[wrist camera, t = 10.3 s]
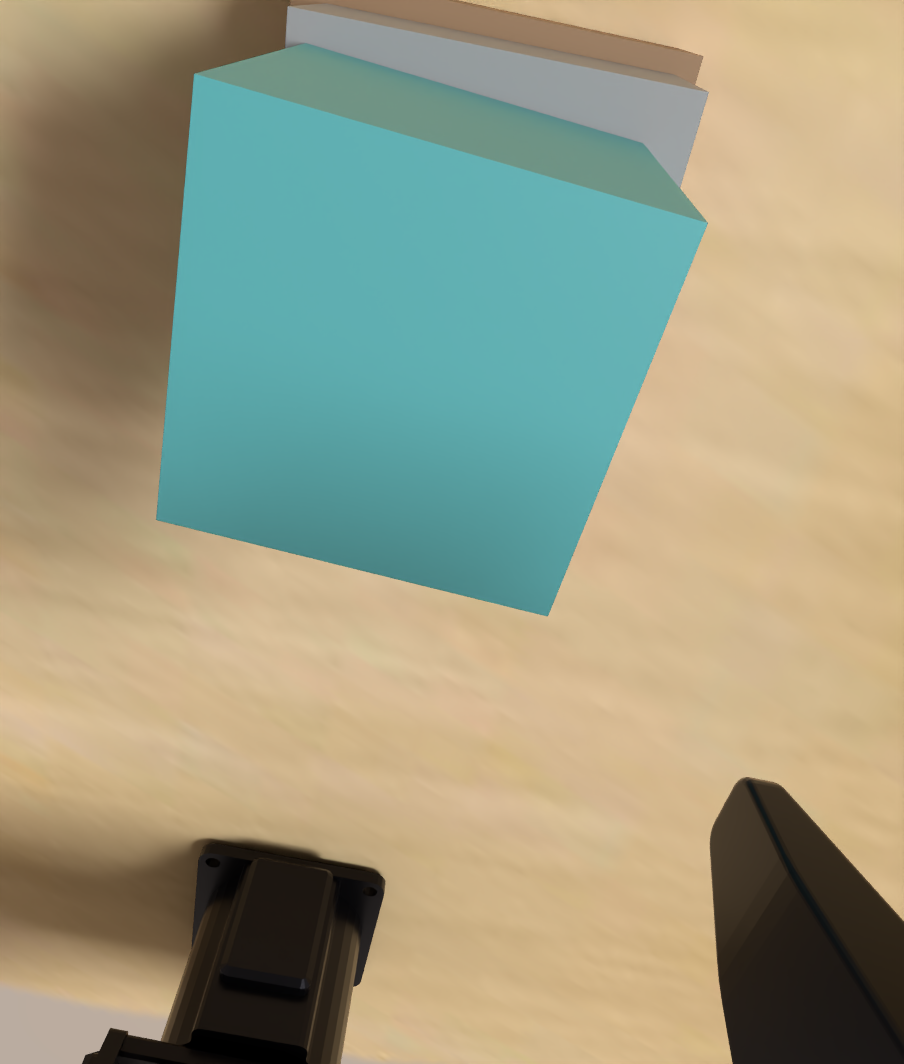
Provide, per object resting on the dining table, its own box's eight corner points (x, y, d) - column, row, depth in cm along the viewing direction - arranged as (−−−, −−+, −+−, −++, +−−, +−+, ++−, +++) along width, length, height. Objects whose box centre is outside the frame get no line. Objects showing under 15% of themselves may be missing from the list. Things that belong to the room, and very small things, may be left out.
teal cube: (539, 441, 15) (548, 616, 11) (258, 367, 15) (155, 519, 11) (643, 143, 13) (708, 222, 8) (305, 43, 12) (194, 73, 8)
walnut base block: (582, 374, 21) (593, 427, 18) (295, 317, 21) (264, 362, 18) (675, 47, 17) (703, 56, 15) (326, -29, 17) (293, -33, 14)
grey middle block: (585, 395, 18) (597, 462, 15) (298, 342, 18) (262, 401, 15) (674, 74, 15) (708, 92, 12) (326, 3, 15) (287, 6, 12)
